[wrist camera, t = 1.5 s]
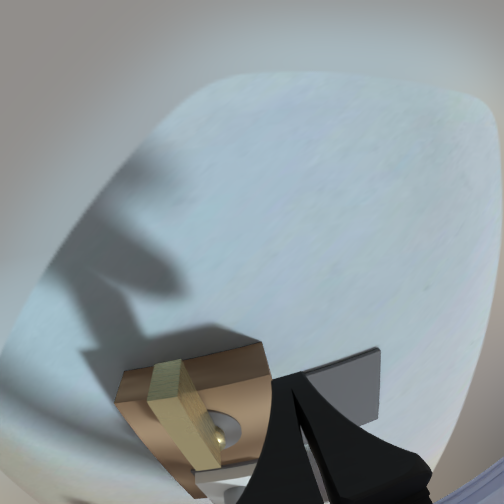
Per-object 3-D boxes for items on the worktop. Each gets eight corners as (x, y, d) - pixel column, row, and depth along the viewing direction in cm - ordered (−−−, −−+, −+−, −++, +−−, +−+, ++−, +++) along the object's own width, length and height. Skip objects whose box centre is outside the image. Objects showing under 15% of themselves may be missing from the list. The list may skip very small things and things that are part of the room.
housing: (294, 454, 22) (302, 483, 19) (195, 473, 22) (195, 501, 19) (261, 341, 18) (270, 376, 15) (124, 371, 17) (113, 405, 14)
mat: (376, 416, 22) (377, 418, 21) (297, 443, 22) (298, 446, 21) (378, 348, 19) (380, 350, 19) (280, 380, 19) (281, 383, 19)
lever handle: (228, 440, 16) (231, 474, 14) (197, 446, 16) (197, 479, 13) (187, 357, 14) (184, 395, 11) (149, 364, 14) (140, 402, 11)
